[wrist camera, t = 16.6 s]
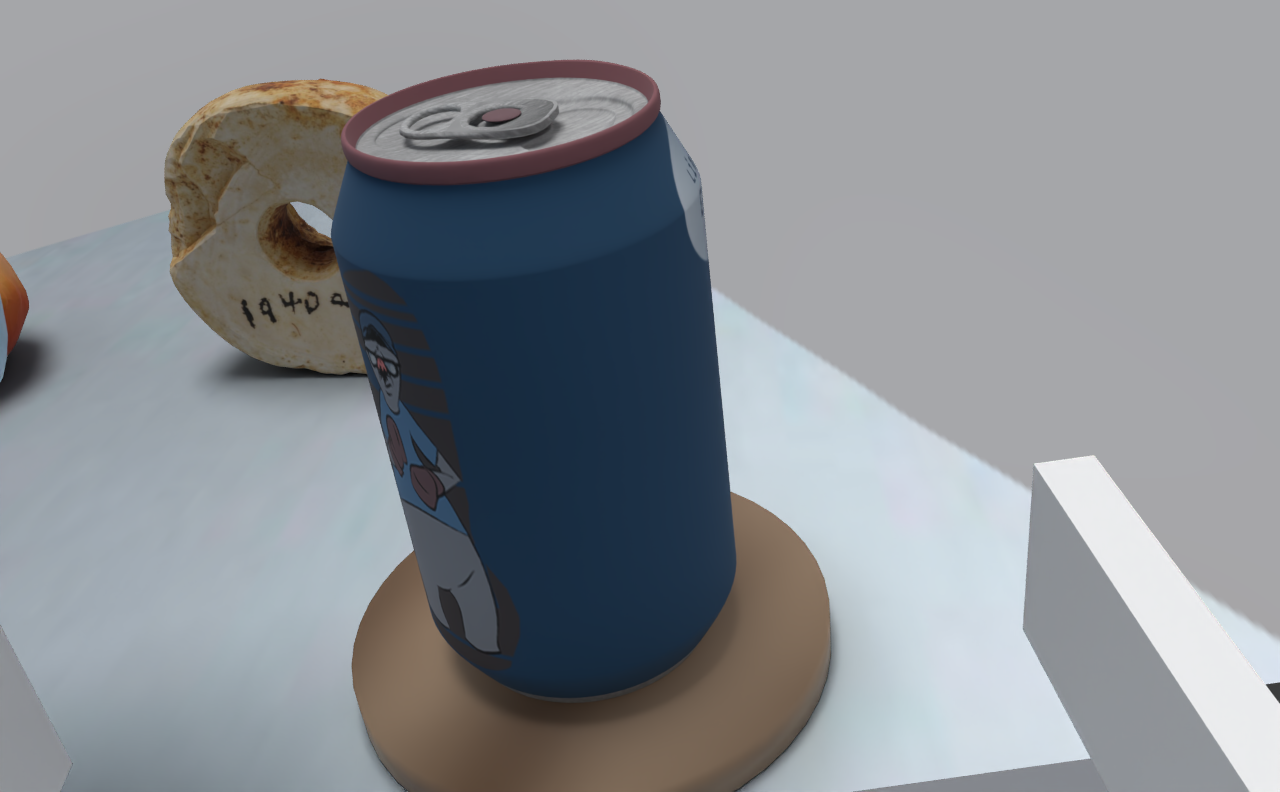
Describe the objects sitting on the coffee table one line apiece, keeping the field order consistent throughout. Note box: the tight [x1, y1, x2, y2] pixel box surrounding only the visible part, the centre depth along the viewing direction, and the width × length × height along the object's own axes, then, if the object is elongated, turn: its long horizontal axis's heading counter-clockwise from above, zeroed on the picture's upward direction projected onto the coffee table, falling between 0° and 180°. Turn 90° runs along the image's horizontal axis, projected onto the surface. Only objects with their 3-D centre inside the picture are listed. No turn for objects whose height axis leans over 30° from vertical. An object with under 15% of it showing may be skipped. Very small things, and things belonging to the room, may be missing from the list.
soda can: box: [331, 60, 737, 703], centre depth 24 cm, size 7×7×12 cm
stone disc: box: [165, 79, 388, 375], centre depth 39 cm, size 10×4×10 cm, turn 79°
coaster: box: [352, 492, 831, 792], centre depth 27 cm, size 11×11×1 cm
